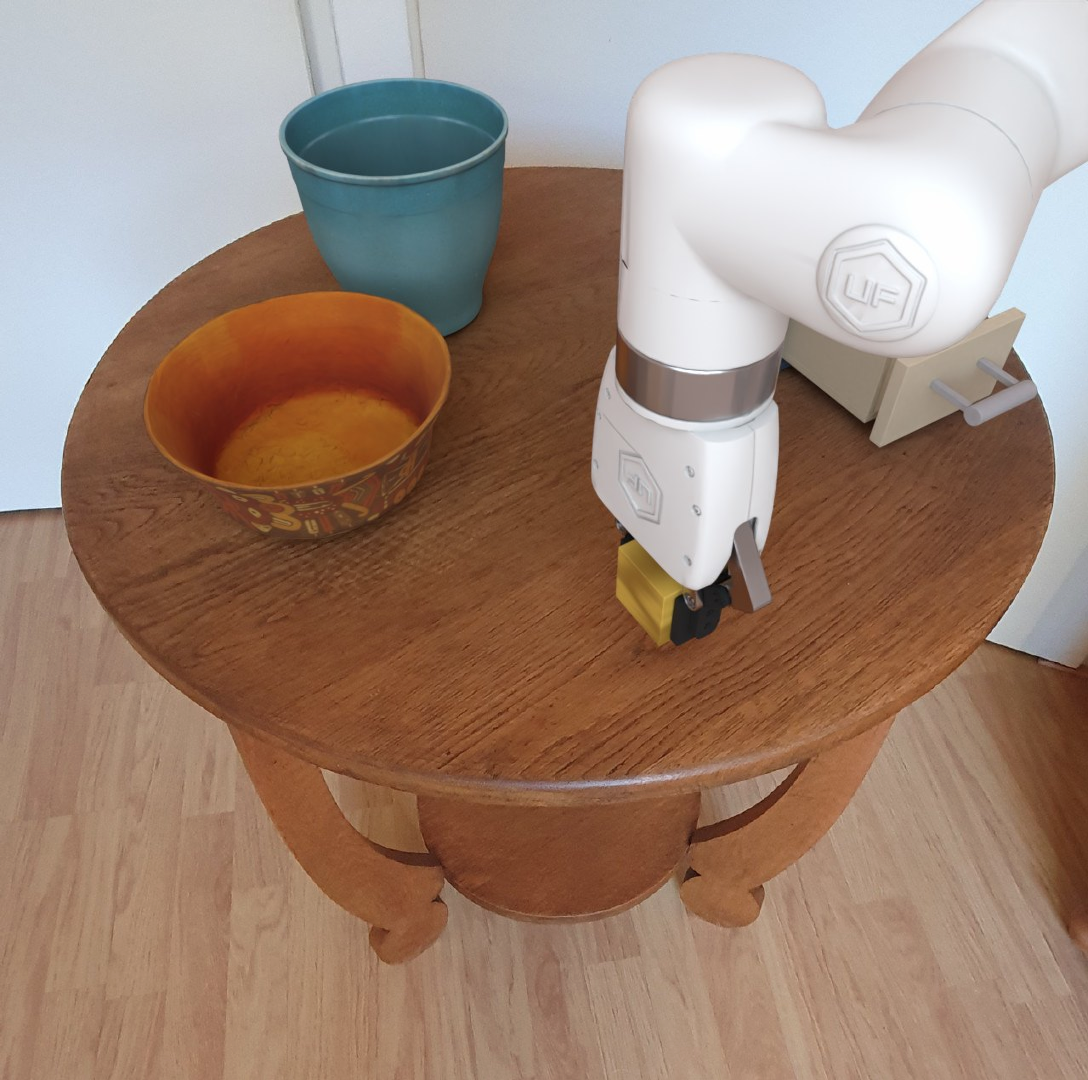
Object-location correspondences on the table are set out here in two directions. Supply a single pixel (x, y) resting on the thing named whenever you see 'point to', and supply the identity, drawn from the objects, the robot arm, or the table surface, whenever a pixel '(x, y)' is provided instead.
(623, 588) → the block
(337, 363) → the bowl
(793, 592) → the table surface
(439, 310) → the flower pot
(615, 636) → the table surface
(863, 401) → the drawer
